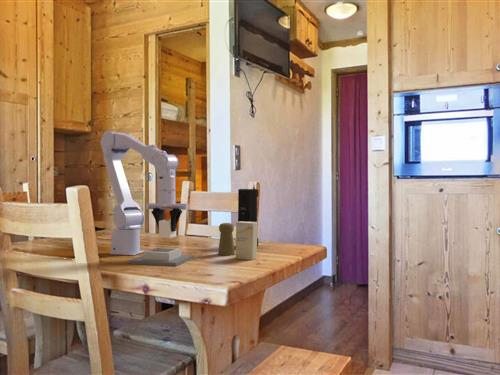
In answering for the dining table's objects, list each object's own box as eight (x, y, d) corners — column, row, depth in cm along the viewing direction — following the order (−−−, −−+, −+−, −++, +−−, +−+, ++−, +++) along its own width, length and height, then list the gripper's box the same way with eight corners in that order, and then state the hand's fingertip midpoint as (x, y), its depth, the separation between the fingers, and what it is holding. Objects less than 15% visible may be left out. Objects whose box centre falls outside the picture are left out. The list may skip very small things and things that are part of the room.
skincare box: (235, 258, 142) (235, 222, 142) (240, 256, 146) (240, 221, 146) (252, 260, 139) (252, 222, 139) (257, 258, 143) (257, 221, 143)
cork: (232, 256, 147) (232, 224, 147) (215, 255, 148) (215, 223, 148) (236, 253, 153) (236, 222, 153) (220, 252, 154) (220, 222, 154)
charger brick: (158, 237, 142) (158, 220, 142) (165, 235, 147) (165, 219, 147) (170, 237, 141) (169, 220, 141) (176, 236, 146) (176, 219, 146)
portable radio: (234, 246, 169) (234, 182, 169) (245, 244, 173) (245, 182, 173) (247, 248, 164) (247, 183, 163) (259, 246, 168) (259, 182, 167)
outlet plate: (128, 263, 134) (128, 252, 134) (150, 256, 147) (150, 245, 147) (176, 266, 130) (176, 254, 130) (194, 258, 143) (194, 247, 143)
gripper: (141, 190, 141) (141, 232, 141) (182, 190, 138) (182, 233, 138) (151, 190, 148) (151, 229, 148) (190, 190, 145) (190, 230, 145)
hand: (167, 231), depth 144 cm, fingers closed on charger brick, 4 cm apart
